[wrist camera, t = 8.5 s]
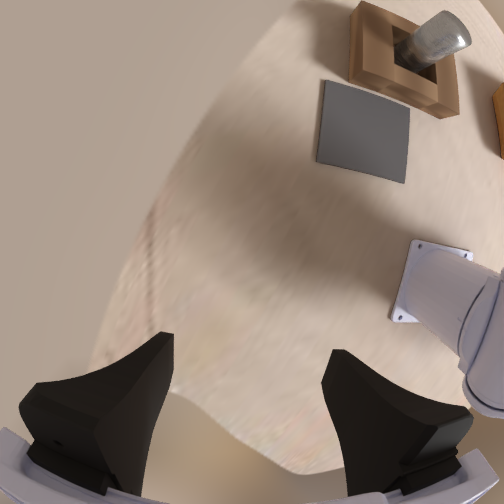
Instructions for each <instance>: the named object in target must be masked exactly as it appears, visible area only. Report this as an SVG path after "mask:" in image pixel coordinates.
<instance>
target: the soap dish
mask: <svg viewBox="0 0 504 504" xmlns="http://www.w3.org/2000/svg"><path fill="white" fill-rule="evenodd" d="M492 98H493V103H494V108H495V114H496V119H497V125H498V132H499V139H500V147H501V158H502V159H503V160H504V83H502V84H501V85H500V87H499V88H498V89H497V91H496V92H495V93H494V95H493V96H492Z"/></svg>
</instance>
